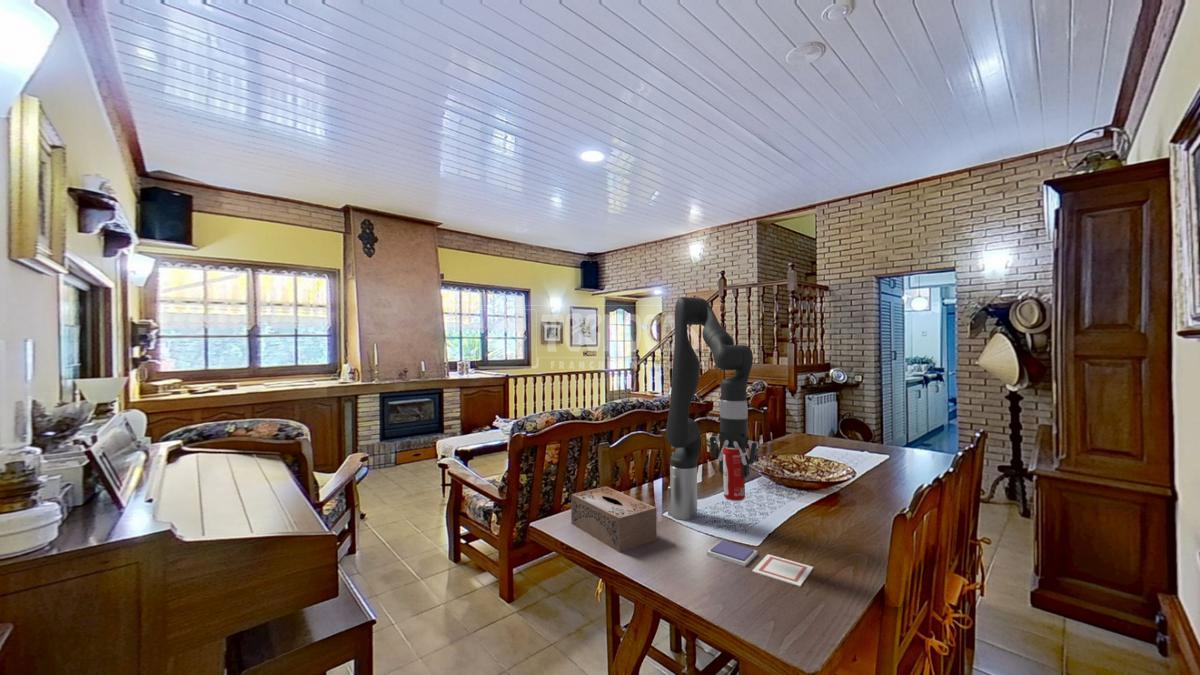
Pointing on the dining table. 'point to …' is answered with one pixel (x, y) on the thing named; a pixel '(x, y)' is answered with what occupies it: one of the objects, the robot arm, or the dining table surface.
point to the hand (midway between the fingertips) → (734, 475)
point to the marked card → (783, 570)
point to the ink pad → (732, 553)
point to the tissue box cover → (614, 518)
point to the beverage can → (733, 474)
